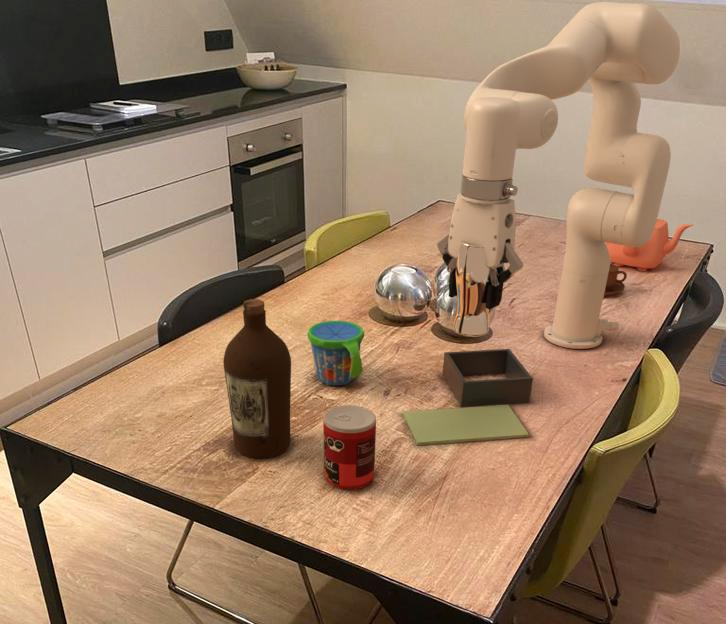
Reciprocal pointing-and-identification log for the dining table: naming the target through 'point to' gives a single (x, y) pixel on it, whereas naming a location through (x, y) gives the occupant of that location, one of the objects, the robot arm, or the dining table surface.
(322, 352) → the snack cup
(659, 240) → the teapot
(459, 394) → the basin
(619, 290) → the cup and saucer
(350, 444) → the canned food
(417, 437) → the drying mat
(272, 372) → the olive oil
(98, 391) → the dining table surface
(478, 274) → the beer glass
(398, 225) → the dining table surface
